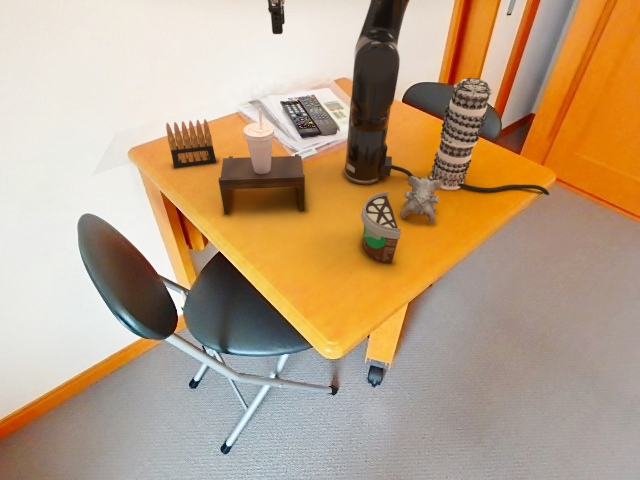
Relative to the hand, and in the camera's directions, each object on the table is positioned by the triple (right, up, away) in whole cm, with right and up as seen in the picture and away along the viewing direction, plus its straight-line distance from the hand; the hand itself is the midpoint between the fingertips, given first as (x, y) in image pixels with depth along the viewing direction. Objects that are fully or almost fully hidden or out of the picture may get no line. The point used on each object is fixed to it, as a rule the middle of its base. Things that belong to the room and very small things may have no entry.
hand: (278, 28), depth 88 cm
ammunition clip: (-24, -27, +16) cm, 39 cm away
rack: (-4, -34, +10) cm, 35 cm away
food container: (+20, -48, -5) cm, 53 cm away
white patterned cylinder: (+41, -32, +14) cm, 54 cm away
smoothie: (-4, -31, +1) cm, 31 cm away
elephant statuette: (+32, -40, +5) cm, 51 cm away
